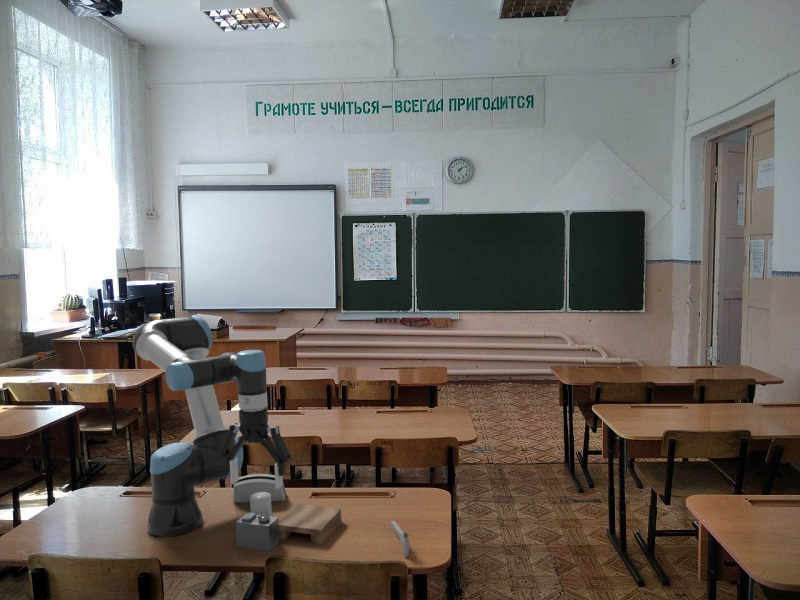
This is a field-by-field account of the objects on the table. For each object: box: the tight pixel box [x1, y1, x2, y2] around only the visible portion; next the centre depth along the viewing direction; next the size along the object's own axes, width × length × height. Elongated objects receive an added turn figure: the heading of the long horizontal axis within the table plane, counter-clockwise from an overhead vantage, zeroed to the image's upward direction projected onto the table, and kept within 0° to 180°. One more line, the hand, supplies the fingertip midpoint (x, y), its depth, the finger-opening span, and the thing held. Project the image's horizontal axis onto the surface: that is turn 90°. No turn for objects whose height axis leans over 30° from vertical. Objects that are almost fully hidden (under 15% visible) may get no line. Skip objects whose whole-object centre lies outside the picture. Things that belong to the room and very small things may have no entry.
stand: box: [279, 503, 342, 545], centre depth 171 cm, size 14×14×4 cm
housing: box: [235, 512, 281, 552], centre depth 163 cm, size 10×6×8 cm, turn 73°
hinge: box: [233, 473, 287, 504], centre depth 192 cm, size 17×5×10 cm, turn 92°
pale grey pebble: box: [249, 492, 273, 516], centre depth 176 cm, size 6×6×8 cm
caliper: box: [390, 520, 410, 558], centre depth 164 cm, size 20×1×6 cm, turn 12°
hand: (256, 484), depth 162 cm, fingers open, 13 cm apart
